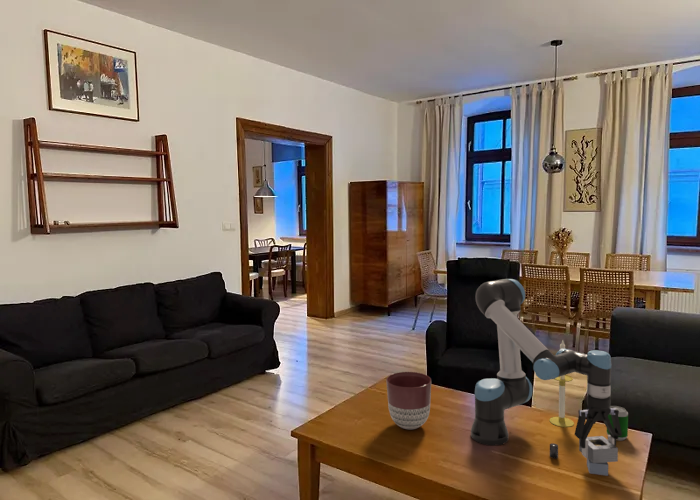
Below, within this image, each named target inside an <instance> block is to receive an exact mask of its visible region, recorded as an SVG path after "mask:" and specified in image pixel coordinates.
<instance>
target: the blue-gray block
mask: <svg viewBox="0 0 700 500" xmlns="http://www.w3.org/2000/svg"><path fill="white" fill-rule="evenodd" d="M594 445H595V446H601V445H599V444H594ZM586 467H587V470H588V473H589V474H592V475H599V476H607V477H608V476H609V462H603V463H592V462H591V461H590V460H589V459H588V458H586Z"/></svg>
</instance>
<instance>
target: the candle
mask: <svg viewBox="0 0 700 500" xmlns="http://www.w3.org/2000/svg"><path fill="white" fill-rule="evenodd" d="M560 349H566V344H565V342H564V339H562V341H561V343H560V344H559V350H560ZM553 380H555V381H558V416H553V417H551V418H549V422H550V424H551V425H554V426H557V427H559V426H560V428H571V427H573V426H574V425H575V422H574V421H573V420H572V419H571V418H568V417H566V383H567V382H572V381H573V380H574V378H573V377H572V376H570V375H569V374H566V375H563V376H560V377H557V378H555V379H553Z"/></svg>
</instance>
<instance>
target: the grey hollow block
mask: <svg viewBox="0 0 700 500" xmlns="http://www.w3.org/2000/svg"><path fill="white" fill-rule="evenodd" d="M586 439H587V440H588V459H589V460H590V461H591V462H592V463H603V462H607V463H615V462H619V453H618V452H619V448H618V447H617V445H616V446H615V445H614V444H612V443H611V442H610V441H608V438H606V437H604V436H603V435H600V436H599V435H597V436H596V435H595V436H587V438H586ZM578 440H579V441H578V442H579V443H578V446H579V447H578V451H579V452H580V453H581V454H582V447H580V439H579V438H578ZM594 444H599V445H601V446H595V445H594Z"/></svg>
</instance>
